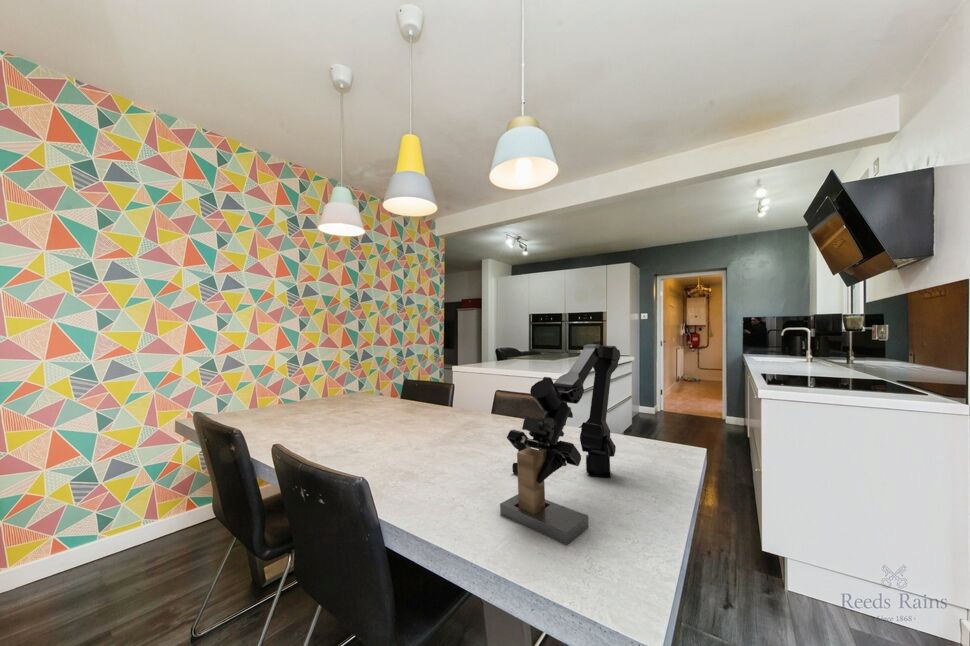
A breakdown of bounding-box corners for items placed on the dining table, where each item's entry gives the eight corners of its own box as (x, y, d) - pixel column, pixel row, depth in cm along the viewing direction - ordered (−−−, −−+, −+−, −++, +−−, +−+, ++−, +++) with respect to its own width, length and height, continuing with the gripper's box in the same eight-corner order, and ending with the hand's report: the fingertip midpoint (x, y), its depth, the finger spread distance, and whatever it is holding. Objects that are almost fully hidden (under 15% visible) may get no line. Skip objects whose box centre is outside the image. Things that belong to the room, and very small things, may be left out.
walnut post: (530, 508, 86) (528, 447, 86) (545, 515, 83) (543, 451, 83) (518, 516, 83) (517, 452, 83) (534, 523, 80) (532, 457, 80)
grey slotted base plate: (500, 514, 84) (500, 503, 84) (523, 501, 91) (523, 491, 91) (567, 545, 72) (566, 532, 72) (588, 527, 78) (588, 515, 78)
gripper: (510, 398, 93) (481, 451, 85) (573, 408, 80) (547, 471, 72) (529, 422, 99) (503, 474, 90) (591, 435, 86) (568, 497, 77)
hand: (527, 478), depth 82 cm, fingers open, 6 cm apart
